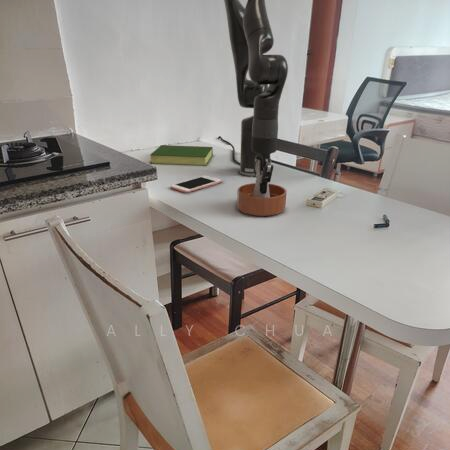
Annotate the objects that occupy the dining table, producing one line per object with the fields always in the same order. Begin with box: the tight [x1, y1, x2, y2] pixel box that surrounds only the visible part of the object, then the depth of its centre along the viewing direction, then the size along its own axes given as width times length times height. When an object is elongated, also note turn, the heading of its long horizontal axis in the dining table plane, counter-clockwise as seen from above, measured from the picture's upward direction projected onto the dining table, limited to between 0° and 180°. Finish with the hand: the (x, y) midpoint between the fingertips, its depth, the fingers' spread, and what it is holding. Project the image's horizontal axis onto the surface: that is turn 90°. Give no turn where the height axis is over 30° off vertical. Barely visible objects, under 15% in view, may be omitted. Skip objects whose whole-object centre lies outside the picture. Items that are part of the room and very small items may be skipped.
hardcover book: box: [149, 144, 214, 167], centre depth 184 cm, size 25×19×4 cm
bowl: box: [236, 182, 287, 217], centre depth 130 cm, size 15×15×6 cm
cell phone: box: [170, 175, 222, 194], centre depth 151 cm, size 9×18×1 cm, turn 137°
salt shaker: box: [252, 166, 270, 198], centre depth 128 cm, size 6×6×13 cm
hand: (261, 192), depth 129 cm, fingers closed on salt shaker, 3 cm apart
